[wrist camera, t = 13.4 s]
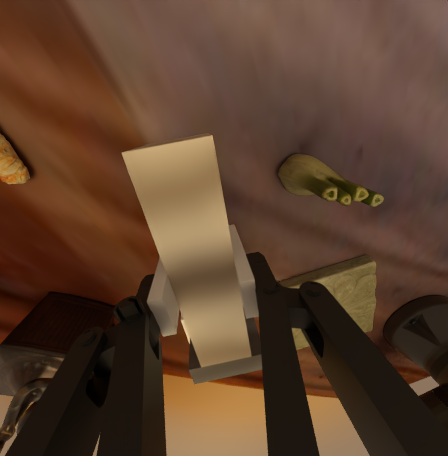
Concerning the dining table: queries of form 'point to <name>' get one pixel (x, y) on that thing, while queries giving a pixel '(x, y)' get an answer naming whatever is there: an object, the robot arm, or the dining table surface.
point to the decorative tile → (344, 290)
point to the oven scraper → (196, 251)
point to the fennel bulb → (322, 182)
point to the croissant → (11, 164)
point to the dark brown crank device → (43, 350)
